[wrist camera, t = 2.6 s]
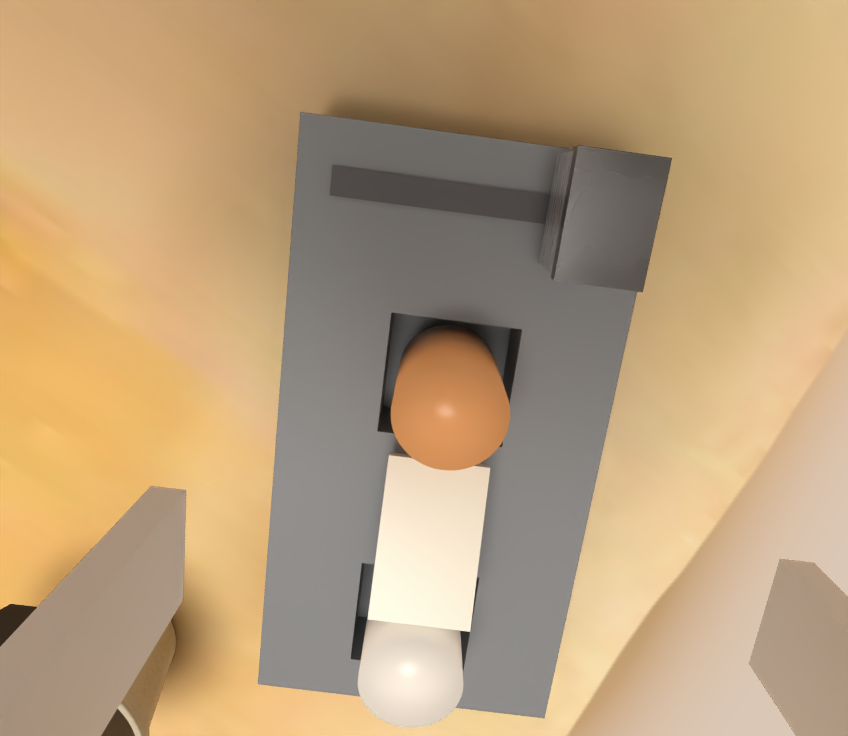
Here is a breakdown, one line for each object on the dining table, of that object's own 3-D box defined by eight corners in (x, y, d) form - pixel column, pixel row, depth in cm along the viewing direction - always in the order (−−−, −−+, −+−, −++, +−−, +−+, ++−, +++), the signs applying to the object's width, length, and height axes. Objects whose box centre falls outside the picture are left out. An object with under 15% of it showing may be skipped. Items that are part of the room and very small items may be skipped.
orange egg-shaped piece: (393, 412, 32) (384, 462, 26) (405, 318, 31) (398, 350, 25) (488, 424, 32) (500, 477, 26) (503, 331, 31) (519, 365, 25)
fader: (535, 265, 28) (553, 280, 24) (555, 151, 27) (578, 145, 23) (610, 275, 28) (642, 292, 24) (633, 161, 27) (672, 158, 23)
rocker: (369, 608, 30) (367, 619, 28) (389, 452, 30) (388, 455, 29) (467, 620, 30) (470, 631, 29) (486, 464, 30) (490, 467, 29)
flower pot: (135, 534, 38) (52, 633, 30) (237, 652, 40) (186, 775, 32) (14, 612, 40) (-98, 727, 31) (118, 722, 42) (39, 857, 33)
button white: (366, 633, 35) (352, 721, 30) (375, 556, 34) (363, 633, 28) (452, 643, 36) (455, 733, 30) (464, 567, 34) (470, 646, 29)
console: (279, 622, 39) (250, 704, 33) (320, 122, 32) (293, 108, 26) (531, 653, 40) (548, 739, 34) (630, 164, 32) (677, 160, 26)
